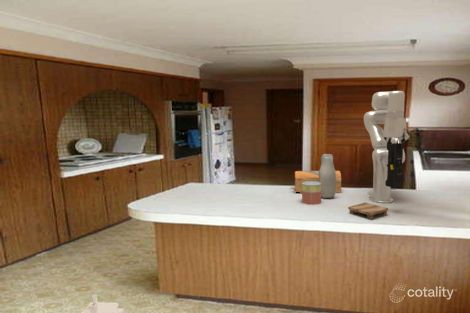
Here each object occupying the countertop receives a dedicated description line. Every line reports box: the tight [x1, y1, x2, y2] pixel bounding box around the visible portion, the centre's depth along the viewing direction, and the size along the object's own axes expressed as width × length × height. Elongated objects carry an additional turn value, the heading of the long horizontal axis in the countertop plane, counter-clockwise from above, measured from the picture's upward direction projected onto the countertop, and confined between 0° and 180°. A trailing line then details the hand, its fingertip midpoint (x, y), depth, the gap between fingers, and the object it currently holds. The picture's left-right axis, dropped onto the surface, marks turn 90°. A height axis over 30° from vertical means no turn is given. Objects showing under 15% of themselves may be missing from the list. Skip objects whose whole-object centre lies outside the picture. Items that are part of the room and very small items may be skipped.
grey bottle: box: [318, 153, 336, 199], centre depth 207 cm, size 10×10×28 cm
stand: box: [347, 202, 389, 221], centre depth 175 cm, size 14×14×4 cm
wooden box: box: [294, 170, 342, 194], centre depth 228 cm, size 30×16×14 cm, turn 81°
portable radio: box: [385, 139, 404, 189], centre depth 174 cm, size 8×6×25 cm
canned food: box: [301, 181, 322, 206], centre depth 199 cm, size 11×11×12 cm
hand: (394, 150), depth 174 cm, fingers closed on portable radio, 5 cm apart
